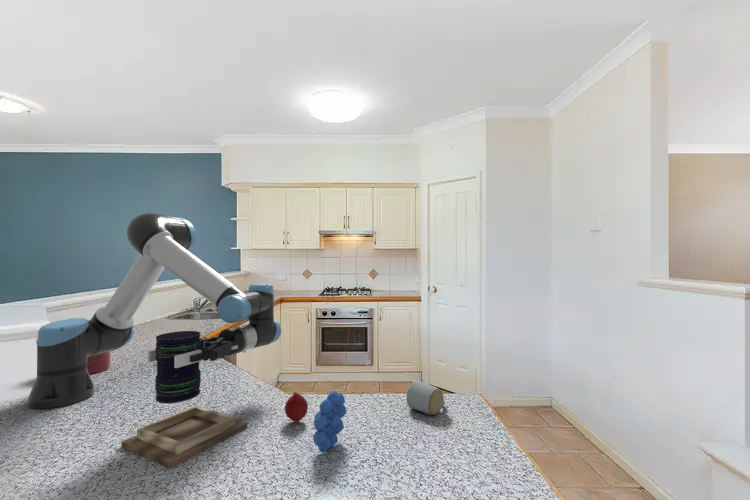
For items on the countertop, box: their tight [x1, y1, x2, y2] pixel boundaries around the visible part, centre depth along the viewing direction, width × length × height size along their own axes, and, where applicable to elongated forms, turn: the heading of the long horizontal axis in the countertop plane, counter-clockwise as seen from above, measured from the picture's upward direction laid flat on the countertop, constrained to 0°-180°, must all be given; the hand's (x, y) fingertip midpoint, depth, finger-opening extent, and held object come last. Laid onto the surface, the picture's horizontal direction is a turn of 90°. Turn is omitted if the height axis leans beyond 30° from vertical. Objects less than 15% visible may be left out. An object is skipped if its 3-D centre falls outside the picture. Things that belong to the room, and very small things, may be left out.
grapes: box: [312, 390, 348, 453], centre depth 82 cm, size 12×7×12 cm, turn 154°
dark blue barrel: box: [154, 330, 202, 404], centre depth 89 cm, size 10×10×15 cm
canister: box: [87, 351, 112, 375], centre depth 137 cm, size 13×13×18 cm
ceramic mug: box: [406, 379, 445, 416], centre depth 101 cm, size 11×8×8 cm
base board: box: [120, 405, 249, 469], centre depth 86 cm, size 18×20×3 cm
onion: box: [284, 390, 309, 423], centre depth 94 cm, size 6×6×8 cm
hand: (161, 359), depth 86 cm, fingers closed on dark blue barrel, 10 cm apart
